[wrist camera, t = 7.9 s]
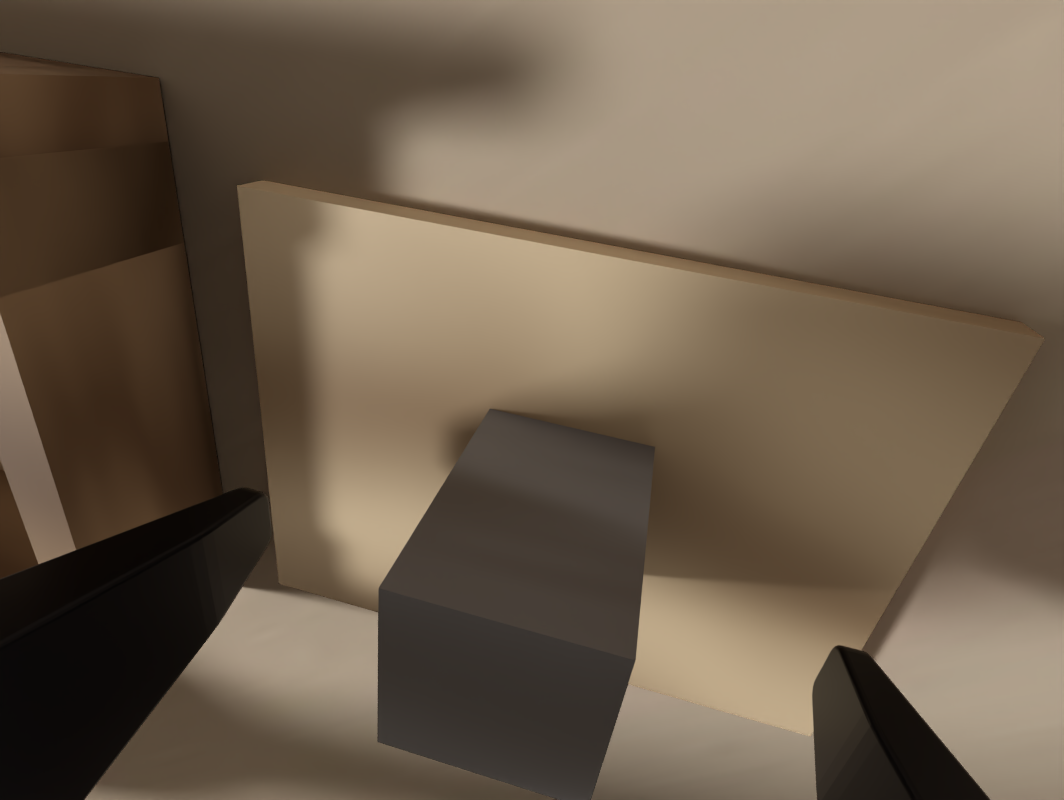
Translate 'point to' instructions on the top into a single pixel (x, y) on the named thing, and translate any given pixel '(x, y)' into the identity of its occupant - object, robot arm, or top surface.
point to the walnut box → (93, 315)
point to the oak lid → (593, 468)
